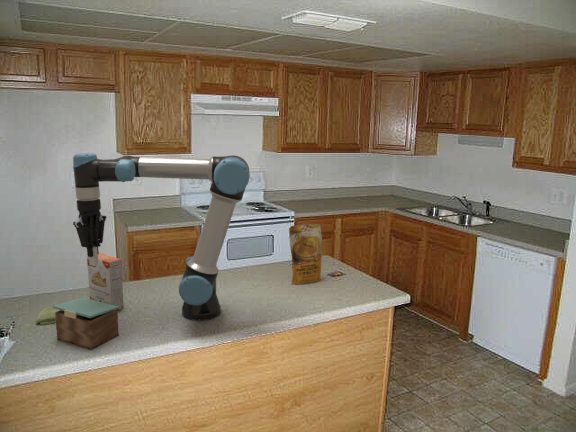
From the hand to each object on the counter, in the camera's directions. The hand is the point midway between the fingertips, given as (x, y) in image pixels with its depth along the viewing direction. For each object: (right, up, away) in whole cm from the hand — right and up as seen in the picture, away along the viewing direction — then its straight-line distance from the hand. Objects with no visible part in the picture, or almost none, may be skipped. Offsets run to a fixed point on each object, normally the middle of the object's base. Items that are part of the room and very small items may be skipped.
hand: (94, 264), depth 165 cm
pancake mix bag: (+77, -15, +60) cm, 98 cm away
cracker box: (-5, -20, +24) cm, 32 cm away
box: (-1, -25, -2) cm, 25 cm away
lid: (-1, -16, -5) cm, 17 cm away
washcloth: (-17, -22, +14) cm, 31 cm away
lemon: (-2, -24, -4) cm, 24 cm away
